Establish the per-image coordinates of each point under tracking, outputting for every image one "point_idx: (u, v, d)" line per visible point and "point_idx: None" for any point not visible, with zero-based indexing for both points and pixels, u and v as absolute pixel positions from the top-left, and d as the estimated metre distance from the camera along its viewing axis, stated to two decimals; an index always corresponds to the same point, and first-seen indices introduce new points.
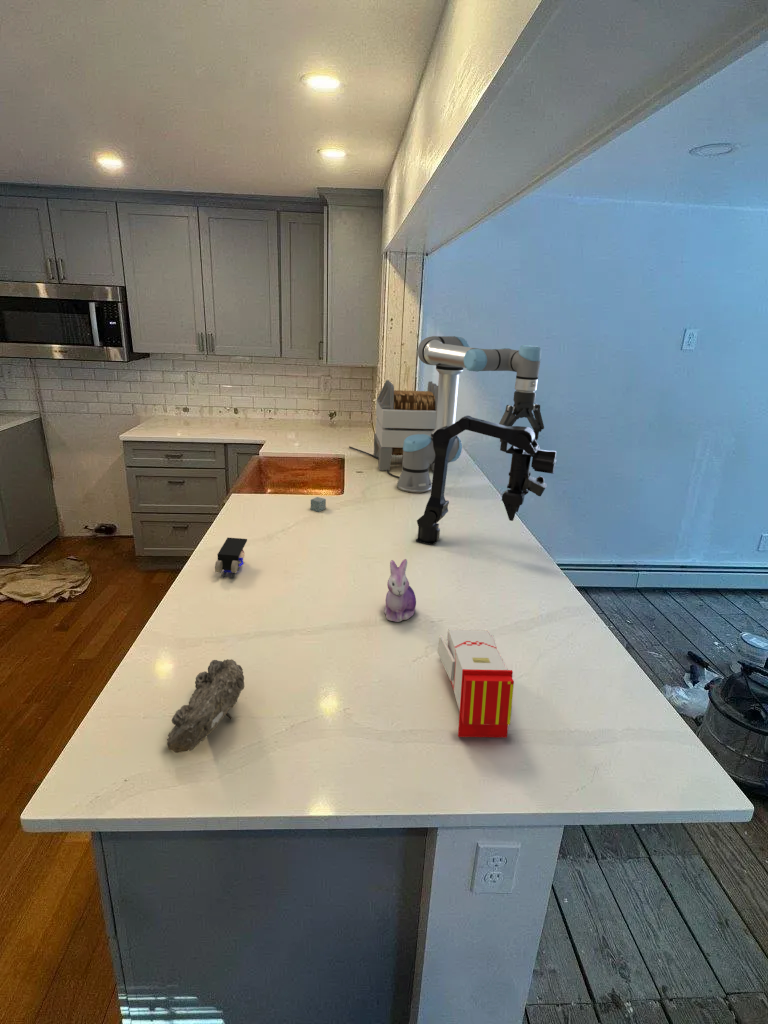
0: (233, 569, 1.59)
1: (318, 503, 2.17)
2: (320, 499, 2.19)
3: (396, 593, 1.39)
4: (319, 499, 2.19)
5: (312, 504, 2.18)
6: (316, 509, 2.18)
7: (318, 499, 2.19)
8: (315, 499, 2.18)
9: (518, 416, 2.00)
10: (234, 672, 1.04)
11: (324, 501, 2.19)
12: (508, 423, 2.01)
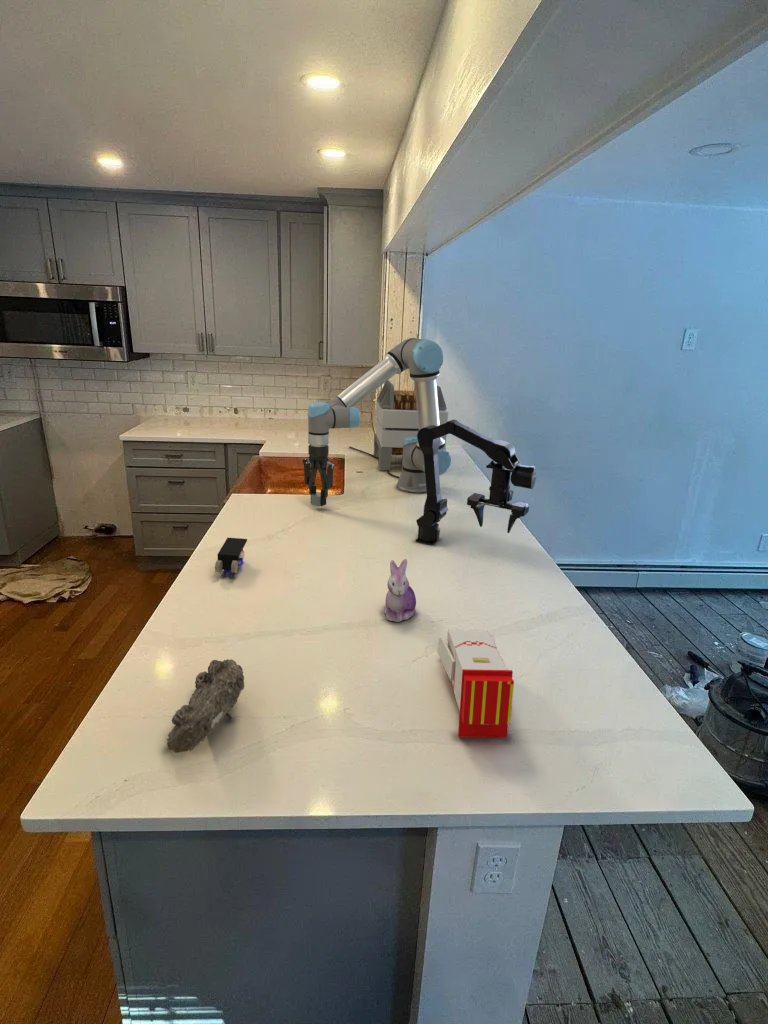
0: (233, 569, 1.59)
1: (318, 498, 2.16)
2: (320, 494, 2.18)
3: (396, 593, 1.39)
4: (319, 494, 2.18)
5: (313, 499, 2.18)
6: (316, 504, 2.17)
7: (318, 494, 2.18)
8: (315, 494, 2.18)
9: None
10: (234, 672, 1.04)
11: None
12: (325, 479, 2.15)
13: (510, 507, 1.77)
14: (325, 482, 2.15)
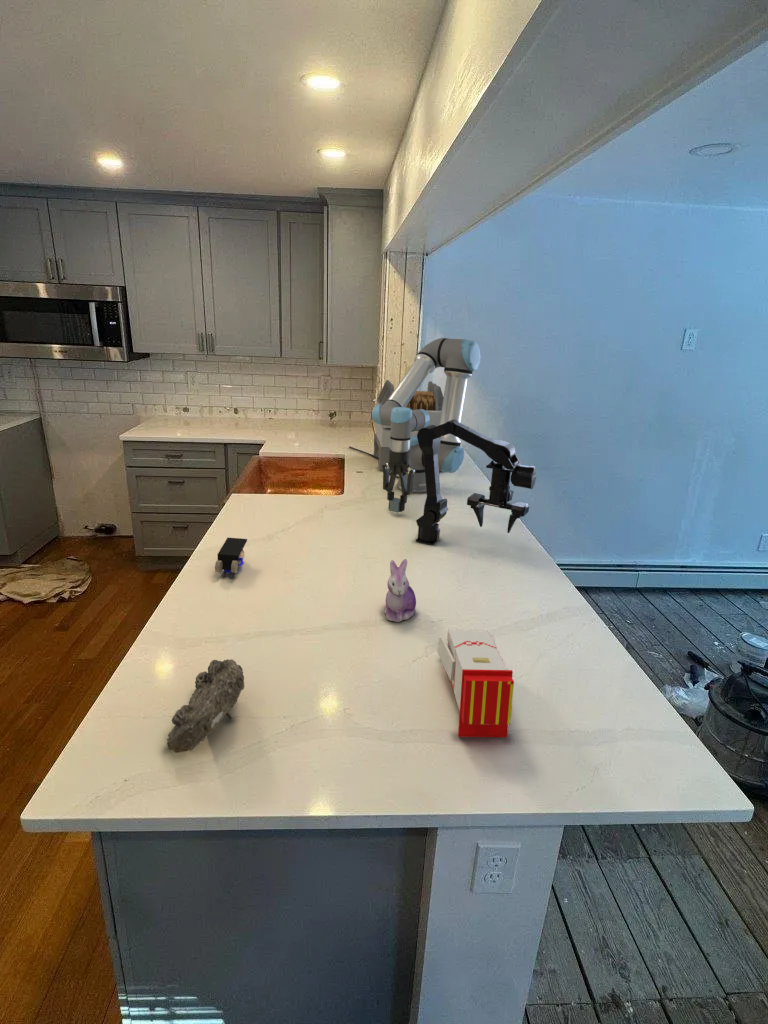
0: (233, 569, 1.59)
1: (397, 504, 2.13)
2: (399, 500, 2.16)
3: (396, 593, 1.39)
4: (397, 500, 2.16)
5: (391, 505, 2.15)
6: (395, 510, 2.15)
7: (397, 500, 2.15)
8: (394, 500, 2.15)
9: None
10: (234, 672, 1.04)
11: None
12: (405, 484, 2.12)
13: (510, 507, 1.77)
14: (405, 488, 2.12)
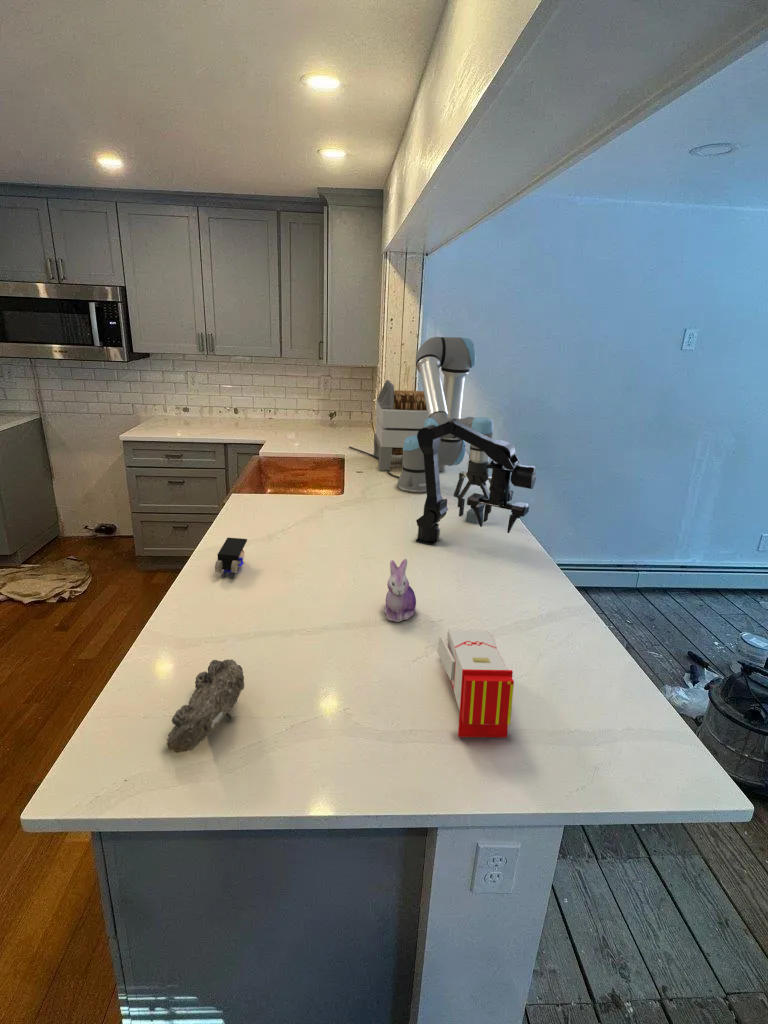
0: (233, 569, 1.59)
1: (475, 515, 2.12)
2: None
3: (396, 593, 1.39)
4: None
5: (468, 516, 2.13)
6: (472, 521, 2.13)
7: None
8: (471, 511, 2.13)
9: None
10: (234, 672, 1.04)
11: None
12: (488, 494, 2.09)
13: (510, 507, 1.77)
14: None
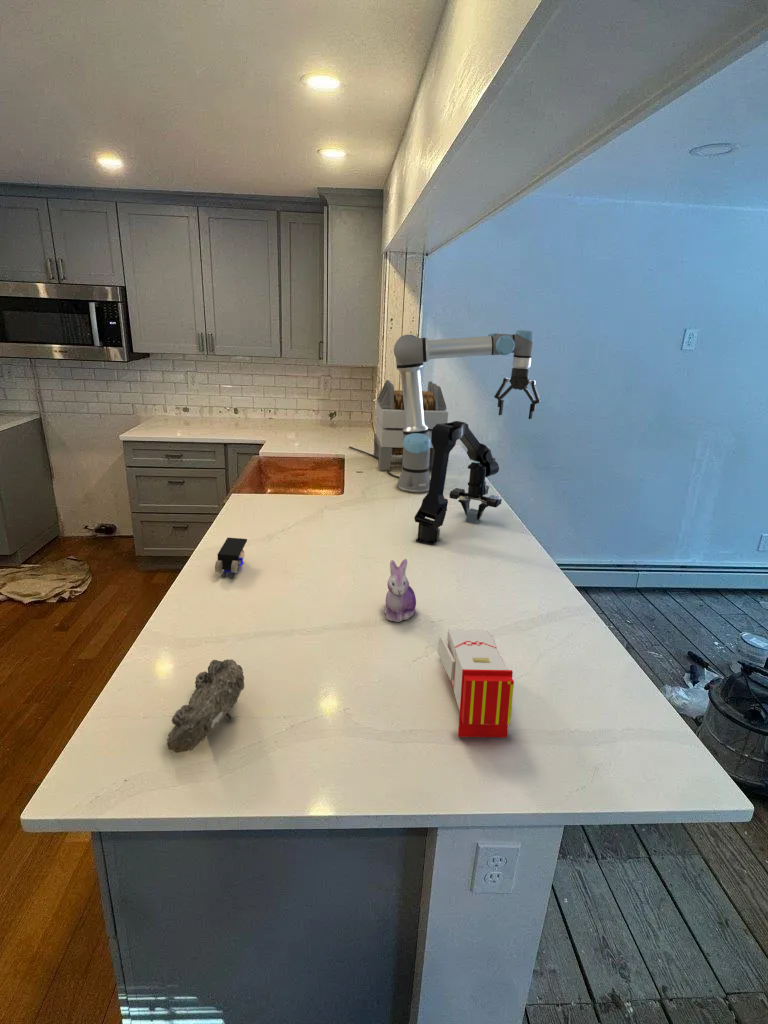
0: (233, 569, 1.59)
1: (475, 515, 2.12)
2: (476, 511, 2.14)
3: (396, 593, 1.39)
4: (474, 511, 2.14)
5: (468, 516, 2.13)
6: (472, 521, 2.13)
7: (474, 511, 2.14)
8: (471, 511, 2.13)
9: None
10: (234, 672, 1.04)
11: None
12: (531, 395, 2.45)
13: (485, 499, 2.10)
14: (532, 397, 2.45)
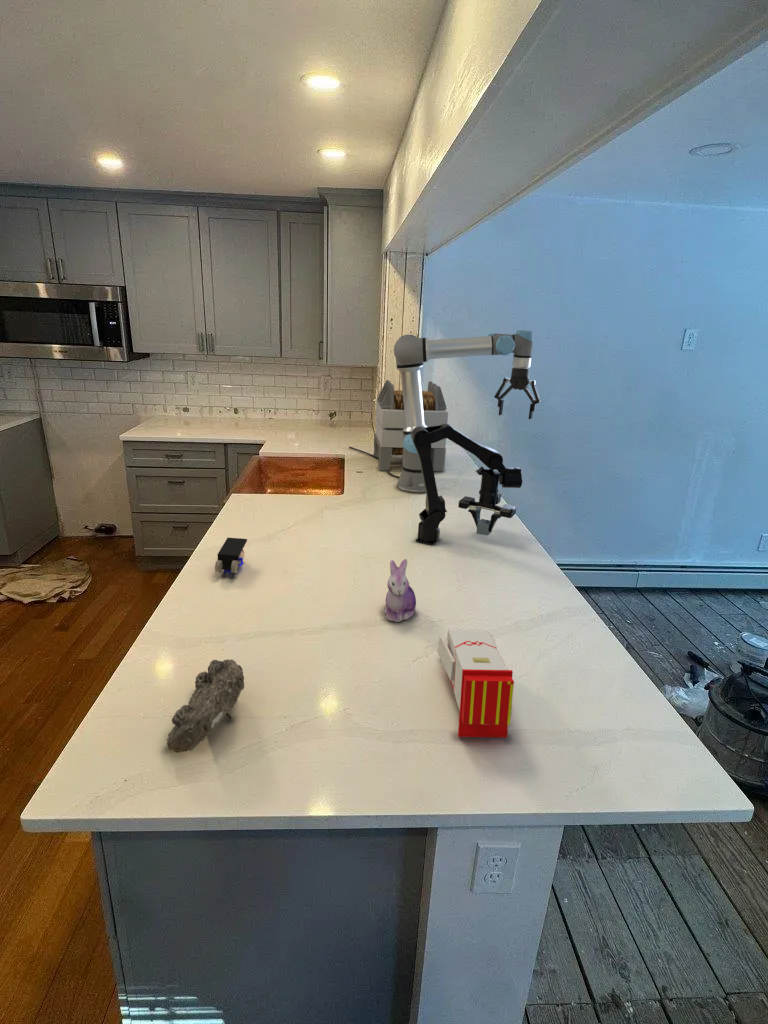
0: (233, 569, 1.59)
1: (487, 526, 1.93)
2: (487, 521, 1.95)
3: (396, 593, 1.39)
4: (486, 521, 1.95)
5: (479, 527, 1.94)
6: (484, 533, 1.94)
7: (485, 521, 1.95)
8: (482, 521, 1.94)
9: None
10: (234, 672, 1.04)
11: None
12: (531, 395, 2.45)
13: (498, 509, 1.91)
14: (532, 397, 2.45)
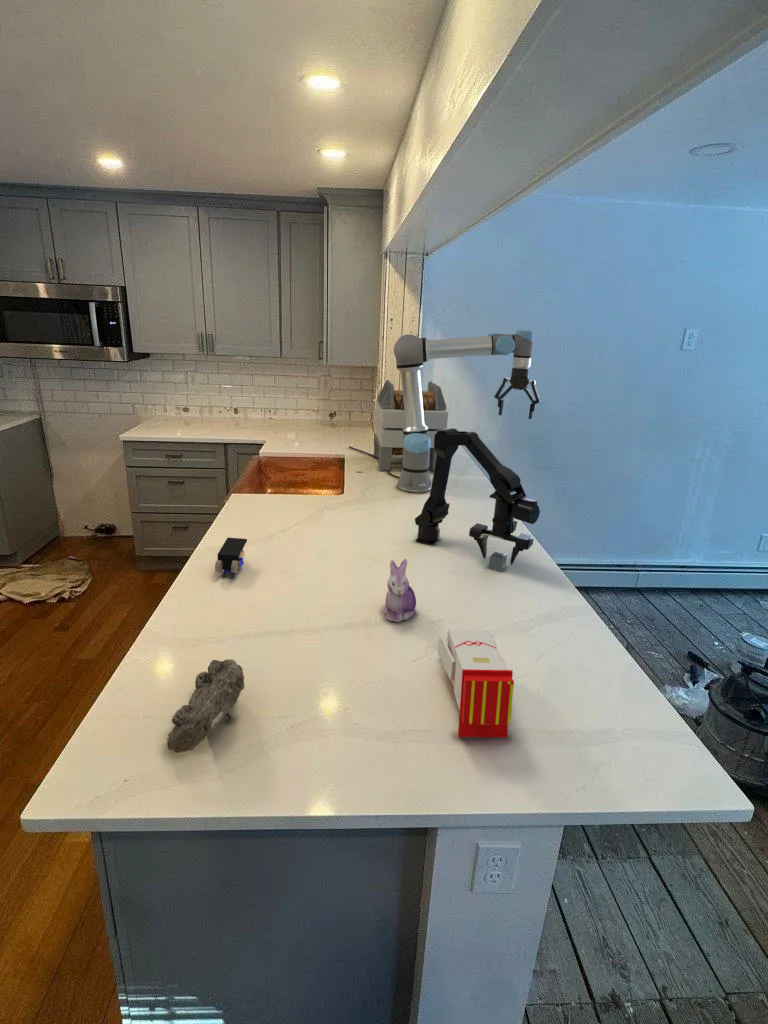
0: (233, 569, 1.59)
1: (501, 561, 1.73)
2: (501, 555, 1.76)
3: (396, 593, 1.39)
4: (499, 555, 1.76)
5: (492, 562, 1.75)
6: (497, 568, 1.75)
7: (499, 555, 1.75)
8: (495, 555, 1.75)
9: None
10: (234, 672, 1.04)
11: (506, 557, 1.76)
12: (531, 395, 2.45)
13: (514, 539, 1.71)
14: (532, 397, 2.45)
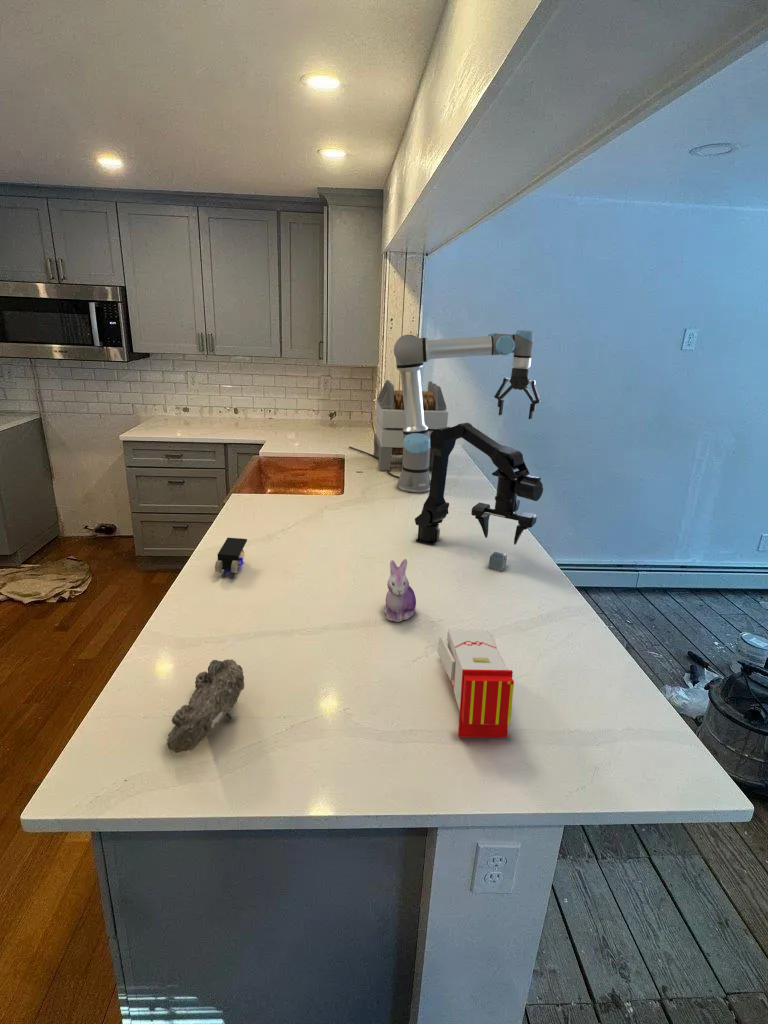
0: (233, 569, 1.59)
1: (501, 561, 1.73)
2: (501, 555, 1.76)
3: (396, 593, 1.39)
4: (499, 555, 1.76)
5: (492, 562, 1.75)
6: (497, 568, 1.75)
7: (499, 555, 1.75)
8: (495, 555, 1.75)
9: None
10: (234, 672, 1.04)
11: (506, 557, 1.76)
12: (531, 395, 2.45)
13: (517, 517, 1.69)
14: (532, 397, 2.45)
